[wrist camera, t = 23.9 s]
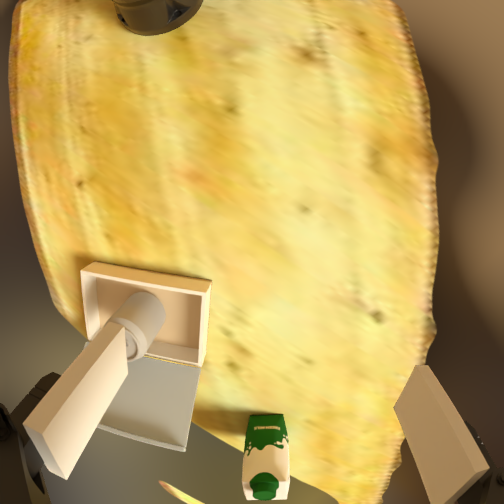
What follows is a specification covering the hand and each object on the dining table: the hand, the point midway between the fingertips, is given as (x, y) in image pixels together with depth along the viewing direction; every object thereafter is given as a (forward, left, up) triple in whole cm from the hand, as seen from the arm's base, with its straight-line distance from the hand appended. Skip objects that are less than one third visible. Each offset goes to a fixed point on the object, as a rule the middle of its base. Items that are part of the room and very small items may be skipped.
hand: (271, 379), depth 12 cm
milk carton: (+43, +6, -36) cm, 57 cm away
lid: (+27, -19, -23) cm, 40 cm away
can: (+18, -19, -35) cm, 44 cm away
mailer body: (+18, -19, -36) cm, 44 cm away
